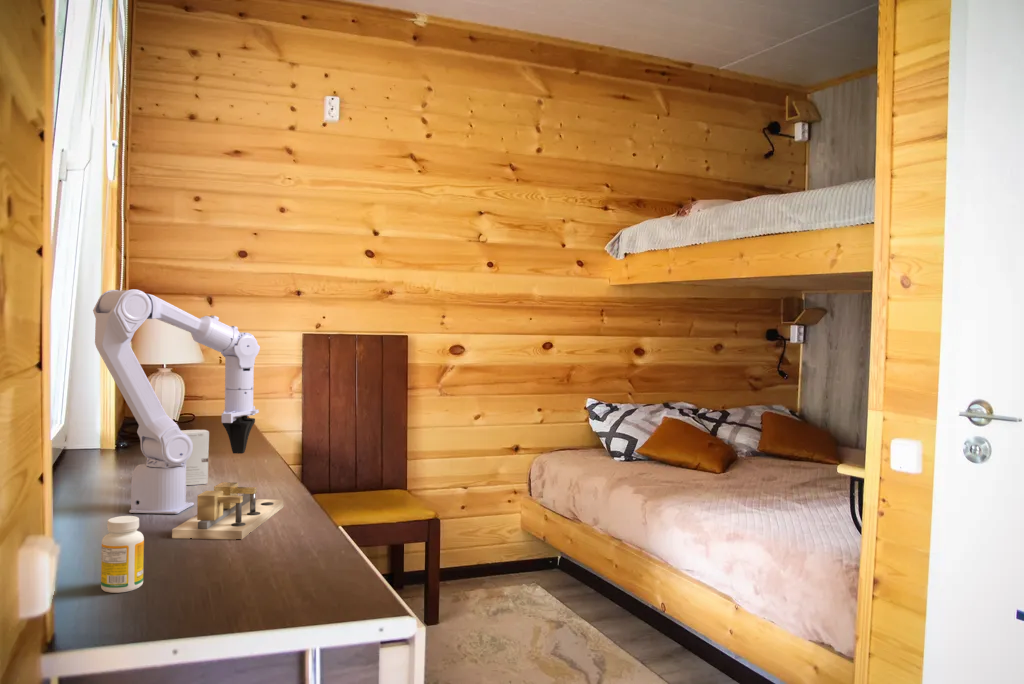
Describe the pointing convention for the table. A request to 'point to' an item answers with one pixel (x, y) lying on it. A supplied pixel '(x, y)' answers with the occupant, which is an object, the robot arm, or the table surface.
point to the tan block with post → (234, 490)
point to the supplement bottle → (122, 555)
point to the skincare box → (197, 457)
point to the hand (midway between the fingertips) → (238, 453)
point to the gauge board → (225, 517)
